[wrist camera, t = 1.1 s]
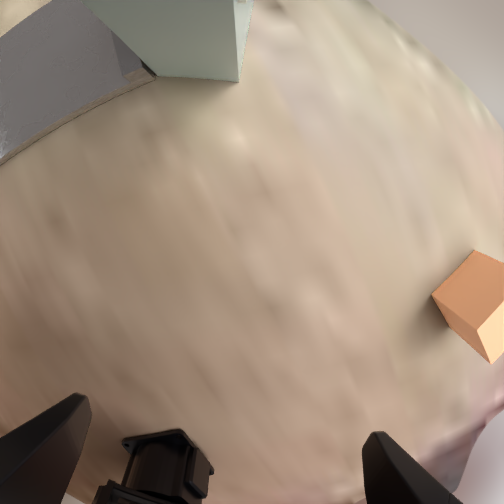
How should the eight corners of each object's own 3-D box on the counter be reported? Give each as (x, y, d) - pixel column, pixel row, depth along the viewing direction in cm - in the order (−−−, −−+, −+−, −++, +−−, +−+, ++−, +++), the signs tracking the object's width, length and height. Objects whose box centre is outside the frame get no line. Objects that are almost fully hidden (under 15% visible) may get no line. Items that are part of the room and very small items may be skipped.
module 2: (449, 327, 22) (491, 364, 16) (430, 294, 21) (476, 330, 15) (489, 285, 21) (536, 313, 15) (474, 250, 20) (526, 273, 14)
